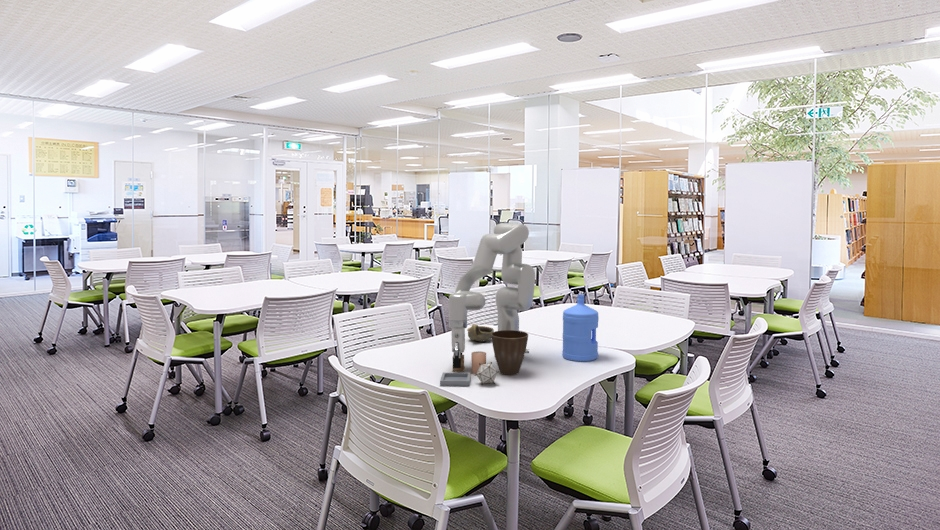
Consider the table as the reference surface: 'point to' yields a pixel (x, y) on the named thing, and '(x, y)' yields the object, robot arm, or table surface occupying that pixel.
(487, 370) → the game die
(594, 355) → the water jug
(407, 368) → the table surface
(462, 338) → the robot arm
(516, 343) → the plant pot
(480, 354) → the peach round domed cylinder
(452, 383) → the tray
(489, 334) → the tan curved open container
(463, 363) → the walnut block
